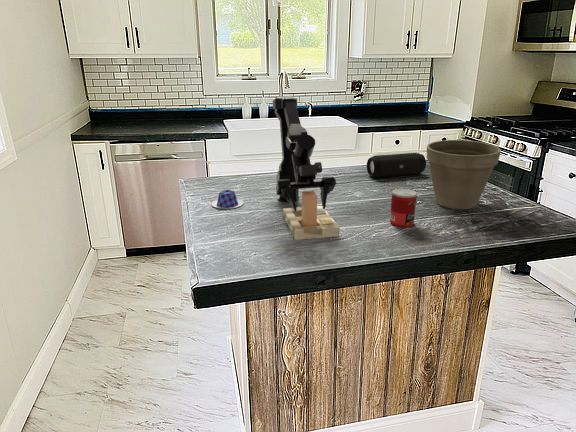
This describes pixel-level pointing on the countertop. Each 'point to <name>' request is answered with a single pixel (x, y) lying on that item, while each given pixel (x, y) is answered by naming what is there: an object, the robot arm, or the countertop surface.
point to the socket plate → (322, 230)
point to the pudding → (227, 200)
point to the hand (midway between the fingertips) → (310, 209)
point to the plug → (309, 209)
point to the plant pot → (460, 171)
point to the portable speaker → (396, 165)
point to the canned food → (403, 207)
